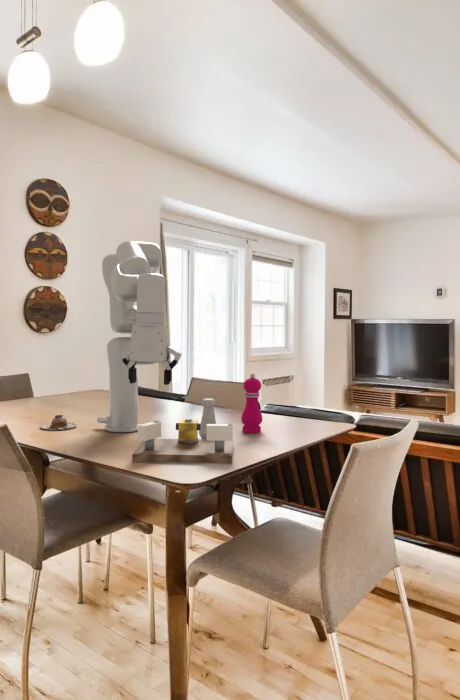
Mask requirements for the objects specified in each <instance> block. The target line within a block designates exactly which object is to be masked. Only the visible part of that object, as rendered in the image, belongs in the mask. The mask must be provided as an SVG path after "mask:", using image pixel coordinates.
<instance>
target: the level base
mask: <svg viewBox="0 0 460 700" xmlns="http://www.w3.org/2000/svg"><path fill="white" fill-rule="evenodd" d="M200 429H201V422H200V423H198V420H197V419H191V418H185V419H180V420H179V422H176V423H175V431H178V438H154V449H152V450H147V449H145V441H141V443H140V445H139V446H138V447H136V449H135V450H134V451H133V453H132V454H131V456H132V458H131V459H132V460H131V461H132V462H137V463H138V462H139V463H140V462H142V463H143V462H144V463H155V462H156V463H184V464H185V463H190V464H192V463H193V464H196V463H197V464H233V453H234V452H233V451H234V440H233V441H224V451H215V441H212V440H202V439H201V438H200V439H199V438H198V434H199V430H200Z"/></svg>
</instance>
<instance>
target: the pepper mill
mask: <svg viewBox="0 0 460 700" xmlns="http://www.w3.org/2000/svg"><path fill="white" fill-rule="evenodd" d="M255 377H256V374H255V373H250V374H249V378H246V380H244V382H243V388H244V390H245V392H244V397H245V398H246V402H245V407H244V410H243V411H242V413H241V423H242V424H243V426H242V433H244V434H259V433H261V431H262V427H261V425H260V424H262V422H263V414H262V412H261V410H260V406H259V397H260V390H261V389H262V383H261V381H260V380H259V379H258V378H255Z"/></svg>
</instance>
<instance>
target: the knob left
mask: <svg viewBox="0 0 460 700" xmlns="http://www.w3.org/2000/svg"><path fill="white" fill-rule="evenodd" d="M140 424H141V425H138V431H137V441H141V442H143V441H145V449H147V450H152V449H154V439H159V438H160V437H162V421H160V420H153V421H149V422H145V423H140Z"/></svg>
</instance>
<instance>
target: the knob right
mask: <svg viewBox="0 0 460 700" xmlns="http://www.w3.org/2000/svg"><path fill="white" fill-rule="evenodd" d="M233 427H234V424H233V423H228V424H227V423H216V424H207V432H206V440H212V441H215V451H224V441H233V442H234V439H233V437H234V436H233V435H234V434H233V433H234V432H233V430H234V428H233Z"/></svg>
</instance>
